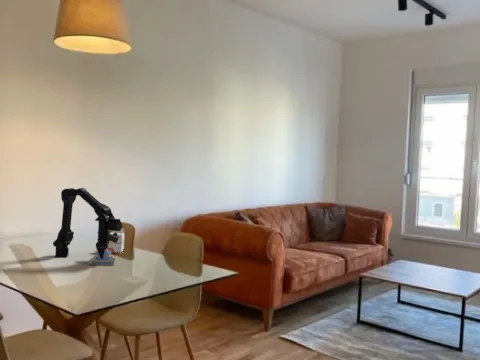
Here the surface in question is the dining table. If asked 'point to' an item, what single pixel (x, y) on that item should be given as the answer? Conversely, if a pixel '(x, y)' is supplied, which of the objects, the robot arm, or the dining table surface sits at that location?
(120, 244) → the ink cartridge box
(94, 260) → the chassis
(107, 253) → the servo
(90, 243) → the dining table surface
